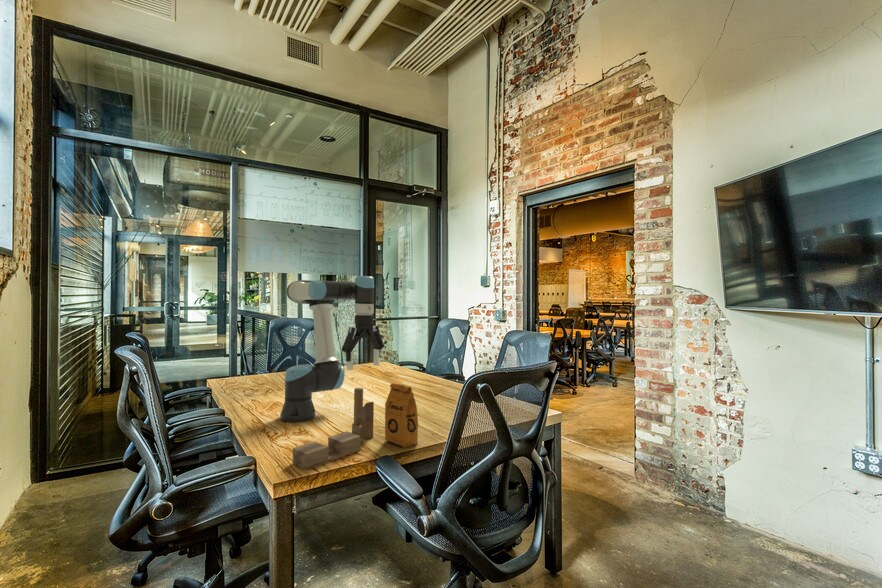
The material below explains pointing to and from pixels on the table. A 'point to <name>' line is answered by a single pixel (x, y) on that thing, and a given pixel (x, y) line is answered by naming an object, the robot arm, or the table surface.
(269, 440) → the table surface
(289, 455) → the table surface
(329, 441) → the slotted sill
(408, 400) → the coffee package
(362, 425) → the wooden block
